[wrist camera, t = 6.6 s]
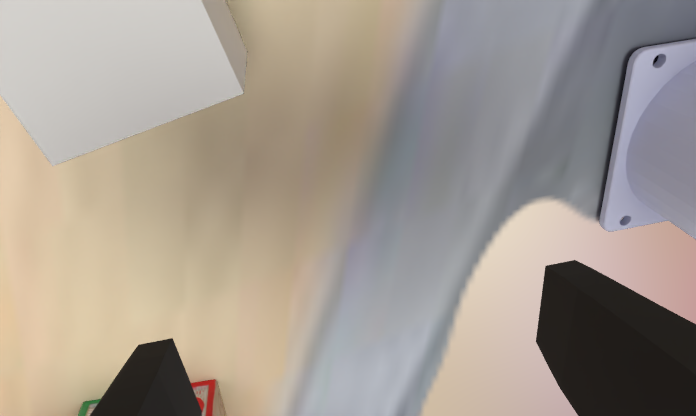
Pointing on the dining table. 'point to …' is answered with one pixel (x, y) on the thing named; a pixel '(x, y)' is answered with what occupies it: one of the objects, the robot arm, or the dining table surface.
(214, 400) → the stack of blocks
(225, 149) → the dining table surface
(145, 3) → the grey cube
